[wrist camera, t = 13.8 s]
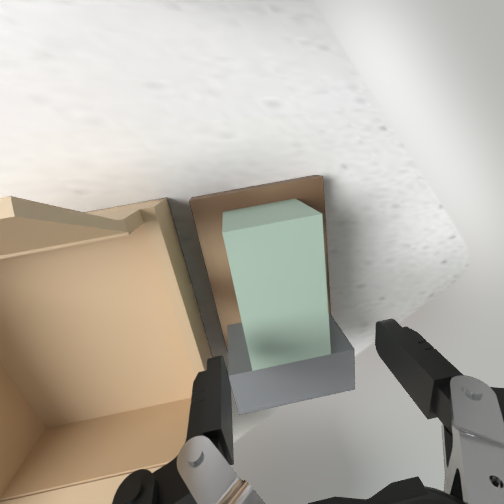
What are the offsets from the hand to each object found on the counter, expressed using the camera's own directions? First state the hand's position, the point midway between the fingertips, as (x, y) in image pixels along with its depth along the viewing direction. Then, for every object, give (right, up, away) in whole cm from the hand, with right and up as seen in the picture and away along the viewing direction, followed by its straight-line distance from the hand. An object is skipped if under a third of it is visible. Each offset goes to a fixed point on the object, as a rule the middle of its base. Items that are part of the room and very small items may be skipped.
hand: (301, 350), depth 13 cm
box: (-1, +2, +7) cm, 7 cm away
